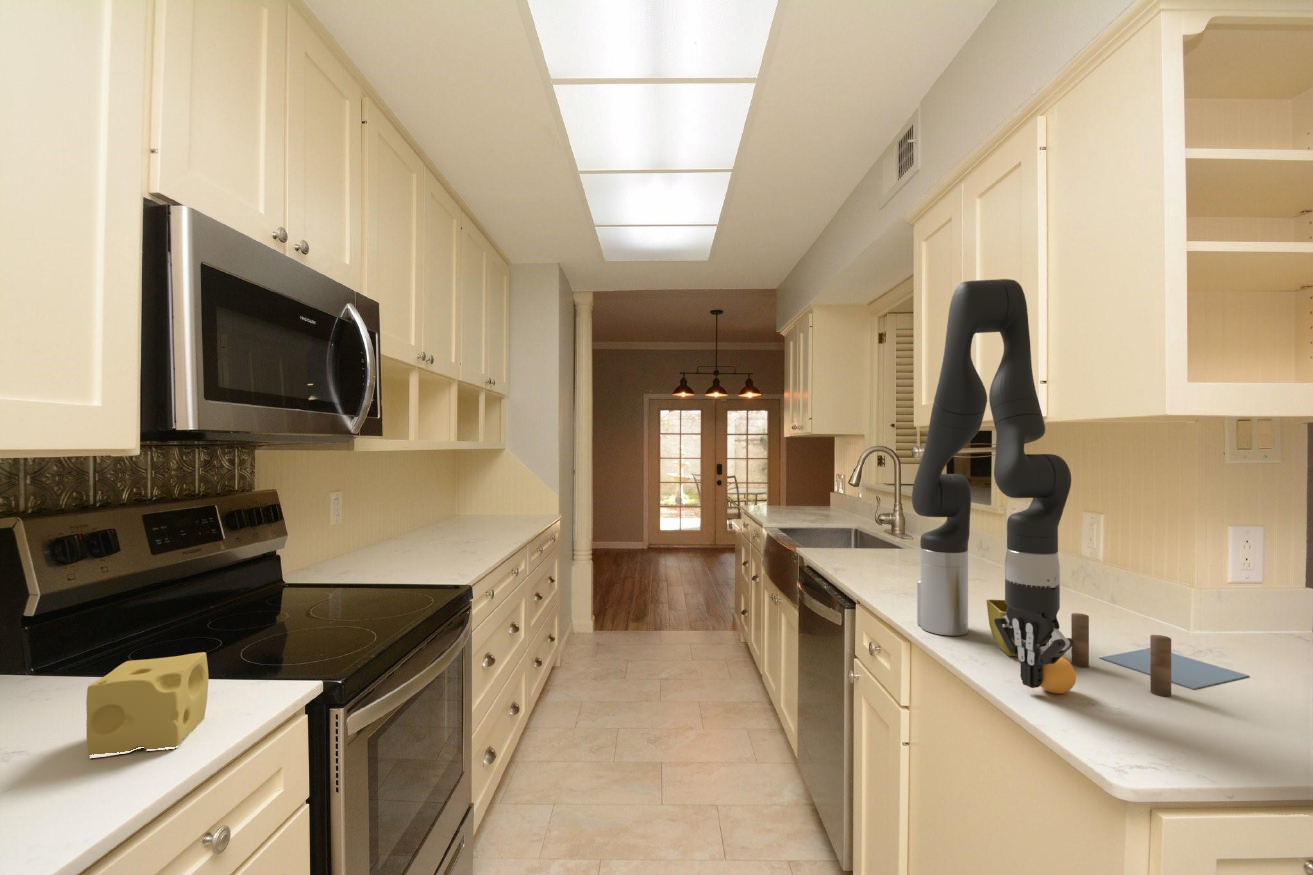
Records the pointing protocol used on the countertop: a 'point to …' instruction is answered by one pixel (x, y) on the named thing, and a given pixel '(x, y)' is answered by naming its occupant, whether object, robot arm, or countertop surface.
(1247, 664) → the countertop surface
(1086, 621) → the inner post
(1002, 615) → the flower pot
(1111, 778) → the countertop surface
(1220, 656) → the countertop surface
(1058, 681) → the ball
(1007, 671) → the countertop surface
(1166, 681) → the outer post
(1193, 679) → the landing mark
